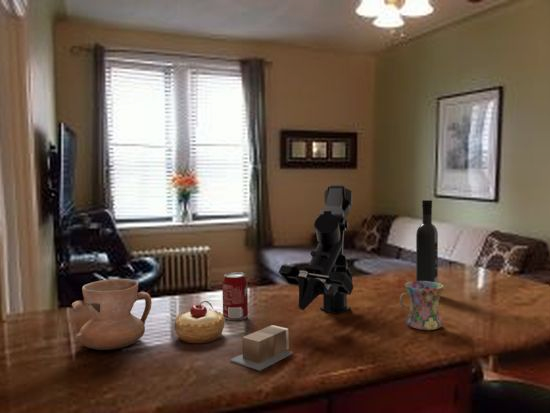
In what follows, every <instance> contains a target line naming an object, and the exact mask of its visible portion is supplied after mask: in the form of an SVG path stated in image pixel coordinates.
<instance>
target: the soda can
mask: <svg viewBox="0 0 550 413" xmlns="http://www.w3.org/2000/svg"><path fill="white" fill-rule="evenodd" d="M223 275H224V278H223V280H222V281H221V282H222V284H221V285H222V290H221V291H222V314H223V316H224V317H225V320H228V321H231V322H236V321H243V320H244V319H245V318H246V319H247V317H248V316H249V306H248V305H249V304H248V303H249V302H248V301H249V300H248V298H249V297H248V294H249V293H248V280H247V278H246V274H245V273H243V272H227V273H225V274H223Z"/></svg>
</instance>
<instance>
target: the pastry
mask: <svg viewBox="0 0 550 413" xmlns="http://www.w3.org/2000/svg"><path fill="white" fill-rule="evenodd" d="M203 303H207V304H209V306H210V307H211V308H212V309H211V308H210V309H207V307H206V306H204V305H203ZM225 321H226V318H225V317H224V316H223V313H221V311H218V310H214V307H213V305H212V304H211V302H209V301H208V300H203V301H202V302H200V303H199V304H193V305H192V306H191V307H190V309H189V310H188V312H187V311H184V312H183V313H179V315H177V317H176V318H175V319H174V332H175V334H176V335H177V337H178V338H179V339H180V341H182V342H185V343H187V344H207V343H210V342H214V341H216V340H218V339H219V338H220V337H221V334H222V333H223V330H224V328H225Z"/></svg>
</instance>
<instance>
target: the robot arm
mask: <svg viewBox="0 0 550 413" xmlns="http://www.w3.org/2000/svg"><path fill="white" fill-rule="evenodd" d="M323 196H324V199H323V200H324V202H323V203H324V205H325V208H324V207H323V208H322V209H320V212H319V215H318V216H317V217H316V219H315V221H314V230H315V233H316V239H317V242H318V243H317V246H316V249H315V250H311V252H310V256H311V259H310V261H309V263H307V264H306V263H305V264H304V266H303V269H304V270H300V269H299V268H298V267H297V265H294V264H293V265H291V264H282V265H281V266H280V268H279V269H278V273H279V275H280V276H281V278H282V279H283V280H284V281H285V282H286V283H287V284H288V285H291V286H296V287H297V286H298V309H299V310H302V311H305V309H306V308H307V307H308V306H310V304H311V303H312V302H313V301H314V300H315V299H316V298H318V297H319V296H320V295H321V296H323V297H322V303H323V306H320V307H319V309H320V310H321V311H325V312H328V313H332V314H340V313H341V314H342V313H344V312H346V311H349V310H352V308H351V307H350V306H348V305H347V304H348V300H347V297H348V296H350V295H351V294H352V292H353V291H354V290H353V289H354V284H353V273H352V272H351V271H350V268H348V261H347V257H346V256H345V255H344V240H345V239H344V238H345V231H347V229H348V228H349V221H348V219H347V217H348V216H349V215H350V213H351V207H353V192H352V190H350V189H348V188H347V187H346V186H345V185H343V184H332V185H331V184H330V185H328V186H327V189H325V190H324V195H323ZM347 295H348V296H347Z"/></svg>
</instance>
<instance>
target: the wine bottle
mask: <svg viewBox="0 0 550 413" xmlns="http://www.w3.org/2000/svg"><path fill="white" fill-rule="evenodd" d="M421 203H422V204H421V208H422V223H421V224H420V225H419V226H418V227H417V230H416V235H415V236H416V238H415V240H416V241H415V243H416V244H415V245H416V246H415V248H416V249H415V253H416V254H415V258H416V259H415V264H416V265H415V266H416V268H415V272H416V273H415V276H416V277H415V281H430V282H436V283H439V282H438V281H439V280H438V277H439V276H438V275H439V272H438V269H439V267H438V266H439V264H438V263H439V262H438V261H439V260H438V256H439V255H438V254H439V250H438V246H439V242H438V240H439V238H438V235H439V234H438V229H437V227H436V225H434V224H433V223H432V222H433V221H432V218H433V217H432V216H433V213H432V212H433V200H431V199H429V200H428V199H424V200H421Z"/></svg>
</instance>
